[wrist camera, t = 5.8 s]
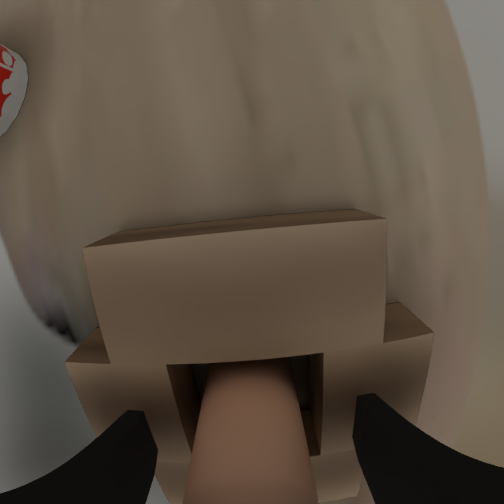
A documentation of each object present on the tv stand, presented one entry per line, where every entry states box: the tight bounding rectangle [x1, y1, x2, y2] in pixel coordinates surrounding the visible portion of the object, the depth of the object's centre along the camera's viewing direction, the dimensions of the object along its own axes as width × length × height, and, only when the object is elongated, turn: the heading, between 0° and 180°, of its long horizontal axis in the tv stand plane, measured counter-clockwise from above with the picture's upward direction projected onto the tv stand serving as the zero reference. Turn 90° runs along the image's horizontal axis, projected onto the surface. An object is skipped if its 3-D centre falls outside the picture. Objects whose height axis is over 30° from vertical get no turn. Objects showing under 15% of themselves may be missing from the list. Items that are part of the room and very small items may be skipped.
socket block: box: [65, 209, 434, 504], centre depth 12 cm, size 13×13×3 cm
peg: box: [183, 357, 318, 504], centre depth 10 cm, size 4×4×7 cm
